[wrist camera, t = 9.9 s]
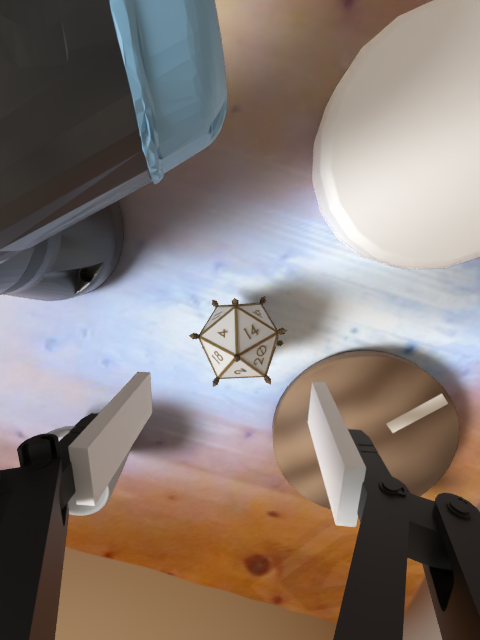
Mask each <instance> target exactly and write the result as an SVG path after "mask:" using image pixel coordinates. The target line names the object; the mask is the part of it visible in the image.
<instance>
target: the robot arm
mask: <svg viewBox="0 0 480 640" xmlns="http://www.w3.org/2000/svg"><path fill="white" fill-rule="evenodd" d="M226 109H227V82H226V70H225V61H224V54H223V46H222V39H221V33H220V27H219V22H218V16H217V10H216V4H215V0H0V295H2V294H3V295H10V296H16V297H23V298H29V299H36V300H43V301H57V300H65V299H69V298H73V297H76V296H80V295H83V294H86V293H88V292H90V291H92V290H94V289H96V288H97V287H99V286H100V285H101V284H102V283H103V282H104V281H105V280H106V279H107V278H108V277H109V276H110V275H111V273H112V272H113V270H114V269H115V267H116V265H117V263H118V260H119V257H120V254H121V251H122V246H123V221H122V215H121V211H120V208H119V204H118V202H117V201H118V200H120V199H122V198H124V197H126V196H127V195H129V194H131V193H133V192H135V191H137V190H139V189H140V188H142V187H144V186H146V185H148V184H150V183H152V182H153V183H154V184H157V183H159V182H160V181H161V180H162V179H163V176H164V174H165V173H167V172H168V171H170V170H171V169H173V168H174V167H176V166H178V165H179V164H181V163H182V162H184V161H186V160H187V159H189V158H190V157H192V156H194V155H195V154H197V153H198V152H200V151H202V150H203V149H205V148H206V147H208V146H209V145H210V144H211V143H212V142H213V141H214V140H215V139H216V138H217V136H218V135H219V133H220V131H221V129H222V126H223V124H224V120H225V116H226ZM151 414H152V395H151V377H150V373H149V372H137V373H136V374H135V375H134V377H133V378H132V379H131V380H130V381H129V382H128V383H127V384H126V385H125V386H124V387H123V388H122V389H121V391H120V392H119V393H118V394H117V395H116V396H115V397H114V398H113V399H112V400H111V401H110V402H109V403H108V405H107V406H106V407H105V408H104V409H103V410H102V411H101V412H100V413H99V414H93V413H91V414H90V415H88V416H86V417H84V418H83V419H81V420H80V421H79V422H78V423H77V424H76V425H75V427H74V428H72V429H71V430H70V431H69V433H67V434H66V435H65V436H64V437H63V438H62V439H61V440H60V441H58V436H56V435H55V434H49V433H48V434H40V435H37V436H34V437H32V438H30V439H27V440H26V441H24V442H23V443H22V444H20V446H19V447H18V449H17V451H18V456H19V461H20V466H21V467H19V468H12V469H6V470H0V640H55V631H56V623H57V614H58V605H59V597H60V587H61V578H62V569H63V561H64V552H65V544H66V535H67V526H68V517H69V505H68V502H69V500H70V499H71V498H72V496H73V495H74V493H75V497H76V504H77V505H89V506H95V505H96V503H97V502H98V500H99V498H100V497H101V495H102V494H103V492H104V490H105V489H106V487H107V485H108V484H109V482H110V481H111V479H112V477H113V476H114V474H115V473H116V471H117V469H118V468H119V466H120V464H121V463H122V461H123V460H124V458H125V456H126V455H127V453H128V452H129V450H130V448H131V447H132V445H133V443H134V442H135V440H136V439H137V437H138V435H139V434H140V432H141V431H142V429H143V427H144V426H145V424H146V422H147V421H148V419H149V418H150V416H151ZM308 426H309V430H310V433H311V437H312V440H313V444H314V448H315V451H316V455H317V459H318V462H319V466H320V469H321V473H322V477H323V480H324V484H325V488H326V491H327V495H328V498H329V502H330V506H331V509H332V513H333V517H334V520H335V524H336V525H339V526H351V527H356V524H357V518H358V516H359V519H360V522H361V523H360V528H359V532H358V536H357V540H356V545H355V549H354V553H353V558H352V562H351V566H350V570H349V575H348V579H347V583H346V588H345V592H344V596H343V600H342V605H341V609H340V613H339V618H338V622H337V626H336V630H335V635H334V639H333V640H402V639H403V638H402V637H403V621H404V604H405V586H406V569H407V558H410V559H413V560H415V561H418V562H420V563H422V564H423V568H424V572H425V575H426V579H427V583H428V587H429V590H430V594H431V598H432V602H433V605H434V609H435V613H436V617H437V621H438V624H439V628H440V632H441V636H442V639H443V640H480V512H479V510H478V509H477V508H476V507H475V506H474V505H472V504H471V503H470V502H469V501H467V500H465V499H463V498H462V497H459V496H457V495H454V494H450V493H442V494H438V496H437V497H436V499H435V501H431V500H428V499H425V498H422V497H419V496H416V495H414V494H411V493H410V492H409V490H408V488H407V487H406V485H405V484H403V483H402V482H401V481H400V480H398V479H396V478H394V477H392V476H391V474H390V472H389V471H388V469H387V467H386V465H385V464H384V462H383V460H382V458H381V457H380V455H379V454H378V451H377V450H376V448H375V447H374V444H373V443H372V441H371V439H370V437H369V436H367V435H366V434H365V433H364V432H363V431H362V430H355V429H347V427H346V425H345V423H344V420H343V418H342V416H341V414H340V412H339V410H338V408H337V406H336V404H335V402H334V400H333V398H332V395H331V393H330V391H329V389H328V387H327V385H326V383H325V382H312V386H311V396H310V405H309V414H308Z"/></svg>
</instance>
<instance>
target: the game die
mask: <svg viewBox="0 0 480 640" xmlns="http://www.w3.org/2000/svg"><path fill="white" fill-rule="evenodd" d="M265 301H266V299H265V297H263V298H261V300H260V303H252V304H238V300H236V299H235V298H234V299H233V301H232V304H233V305H220V306H219V305H218V303H217V301H215V300H212V305H214V306H215V307H216V308H215V310H214V312H213V313H212V315H211V316H210V318H209V320H208V321H207V323H206V325H205V326H204V328H203V329H202V331H201V333H200V334H199V335H198V334H197V333H196V334H195V333H193V334H191V335H189V336H190V337H191V338H192V339H197V338H199V340H200V342H201V344H202V348H203V349H204V351H205V353H206V355H207V357H208V360H209V362H210V364H211V366H212V368H213V370H214V372H215V375H216V378H215V379H214V381H212V382H213V387H214V386H215V385H218V382H219V379H226V378H248V377H264V380H265V381H266V382H267V383H269V384H271V379H270V378H269V377H268V376H267V372H268V369H269V366H270V363H271V360H272V357H273V354H274V351H275V348H276V345H278V346H279V345H280V346H281V345H282V344H283V342H282V341H278V334H280V335H281V334H285V332H286V331H287V330H285V329H283V328H282V329H279V330H277V328H276V327H275V325H274V323H273V322H272V320H271V318H270V317H269V315H268V313H267V312H266V310H265V308H264V307H263V303H265Z"/></svg>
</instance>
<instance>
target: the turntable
mask: <svg viewBox="0 0 480 640" xmlns="http://www.w3.org/2000/svg"><path fill="white" fill-rule="evenodd" d="M312 382H325V383H326V385H327V387H328V389H329V391H330V393H331V395H332V398H333V400H334V402H335V404H336V406H337V408H338V410H339V412H340V414H341V416H342V418H343V420H344V423H345V425H346V427H347V429H355V430H362V431H363V432H364V433H365V434H366V435H367V436H369V437H370V439H371V441H372V443H373V444H374V447H375V448H376V450H377V451H378V454H379V455H380V457H381V458H382V460H383V462H384V464H385V465H386V467H387V469H388V471H389V472H390V474H391V476H392V477H394V478H396V479H398V480H400V481H401V482H402V483H403V484H405V485H406V487H407V488H408V490H409V492H410V493H411V494H414V495H416V496H421V495H422V494H424V493H425V492H427V491H428V490H429V489H430V488H431V487H433V486H434V485H435V484H436V483H437V482H438V481H439V479H440V478H441V477H442V476H443V475H444V473H445V472H446V471H447V469H448V468H449V466H450V464H451V462H452V460H453V458H454V456H455V453H456V450H457V447H458V441H459V421H458V415H457V412H456V409H455V406H454V404H453V402H452V400H451V398H450V396H449V395H448V393H447V392H446V391H445V389H444V388H443V387H442V386H441V385H440V384H439V383H438V382H437V381H436V380H435V379H434V378H433V377H431V376H430V375H429V374H427V373H426V372H425V371H423V370H422V369H421V368H419V367H418V366H417V365H415V364H413V363H412V362H410V361H408V360H406V359H404V358H401V357H398V356H396V355H393V354H388V353H384V352H377V351H354V352H346V353H342V354H338V355H334V356H331V357H329V358H326V359H324V360H321V361H319V362H317V363H316V364H314V365H312V366H310V367H309V368H307V369H306V370H305V371H303V372H302V373H301V374H300V375H299V376H297V377H296V378H295V379H294V380H293V381H292V382H291V384H290V385H289V386H288V387H287V388H286V390H285V391H284V393H283V395H282V396H281V398H280V400H279V402H278V404H277V407H276V410H275V414H274V418H273V426H272V429H273V447H274V453H275V457H276V460H277V463H278V466H279V468H280V470H281V472H282V474H283V475H284V477H285V478H286V480H287V481H288V482H289V483H290V484H291V486H292V487H293V488H294V489H295V490H296V491H298V492H299V493H300V494H301V495H303V496H304V497H306V498H307V499H309V500H310V501H312V502H314V503H316V504H318V505H320V506H323V507H326V508H329V509H331V506H330V502H329V498H328V495H327V491H326V488H325V484H324V480H323V477H322V473H321V469H320V466H319V462H318V459H317V455H316V451H315V448H314V444H313V440H312V437H311V433H310V430H309V426H308V414H309V405H310V396H311V386H312Z"/></svg>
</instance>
